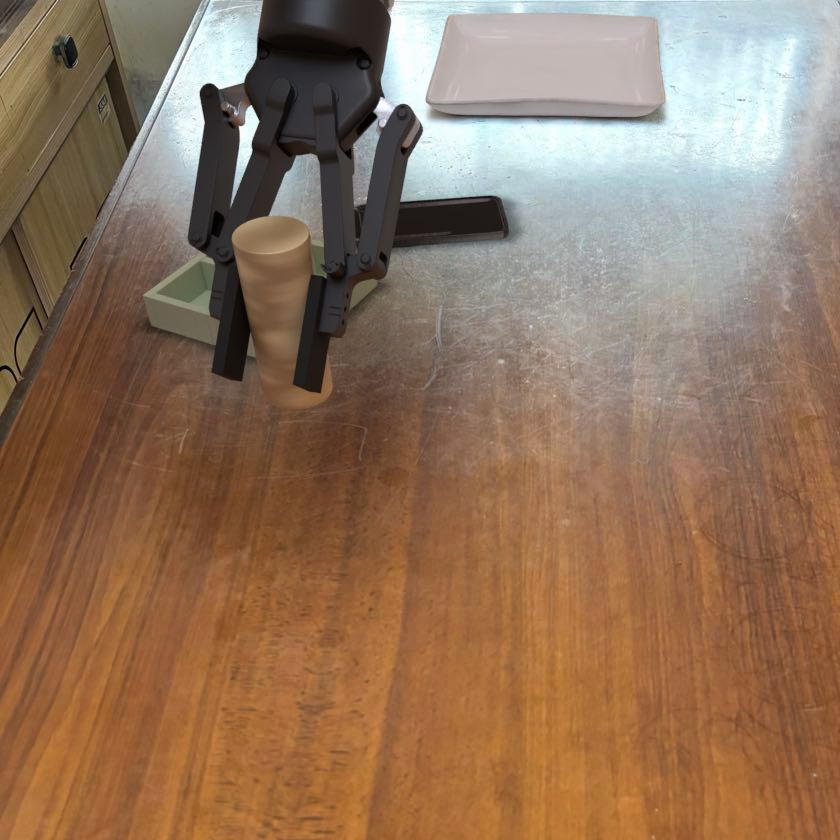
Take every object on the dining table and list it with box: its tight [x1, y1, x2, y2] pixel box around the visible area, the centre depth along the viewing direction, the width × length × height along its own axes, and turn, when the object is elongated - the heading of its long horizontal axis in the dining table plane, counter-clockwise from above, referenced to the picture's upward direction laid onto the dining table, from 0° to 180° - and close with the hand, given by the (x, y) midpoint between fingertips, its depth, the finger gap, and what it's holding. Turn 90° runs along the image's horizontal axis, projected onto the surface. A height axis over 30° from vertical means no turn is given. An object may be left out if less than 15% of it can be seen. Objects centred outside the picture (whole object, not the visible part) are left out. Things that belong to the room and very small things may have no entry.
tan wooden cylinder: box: [232, 215, 334, 411], centre depth 67 cm, size 4×4×11 cm
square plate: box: [425, 12, 667, 118], centre depth 135 cm, size 27×27×4 cm
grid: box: [142, 238, 379, 359], centre depth 98 cm, size 14×14×4 cm
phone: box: [354, 194, 510, 249], centre depth 109 cm, size 8×1×15 cm
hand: (267, 382), depth 66 cm, fingers closed on tan wooden cylinder, 4 cm apart
